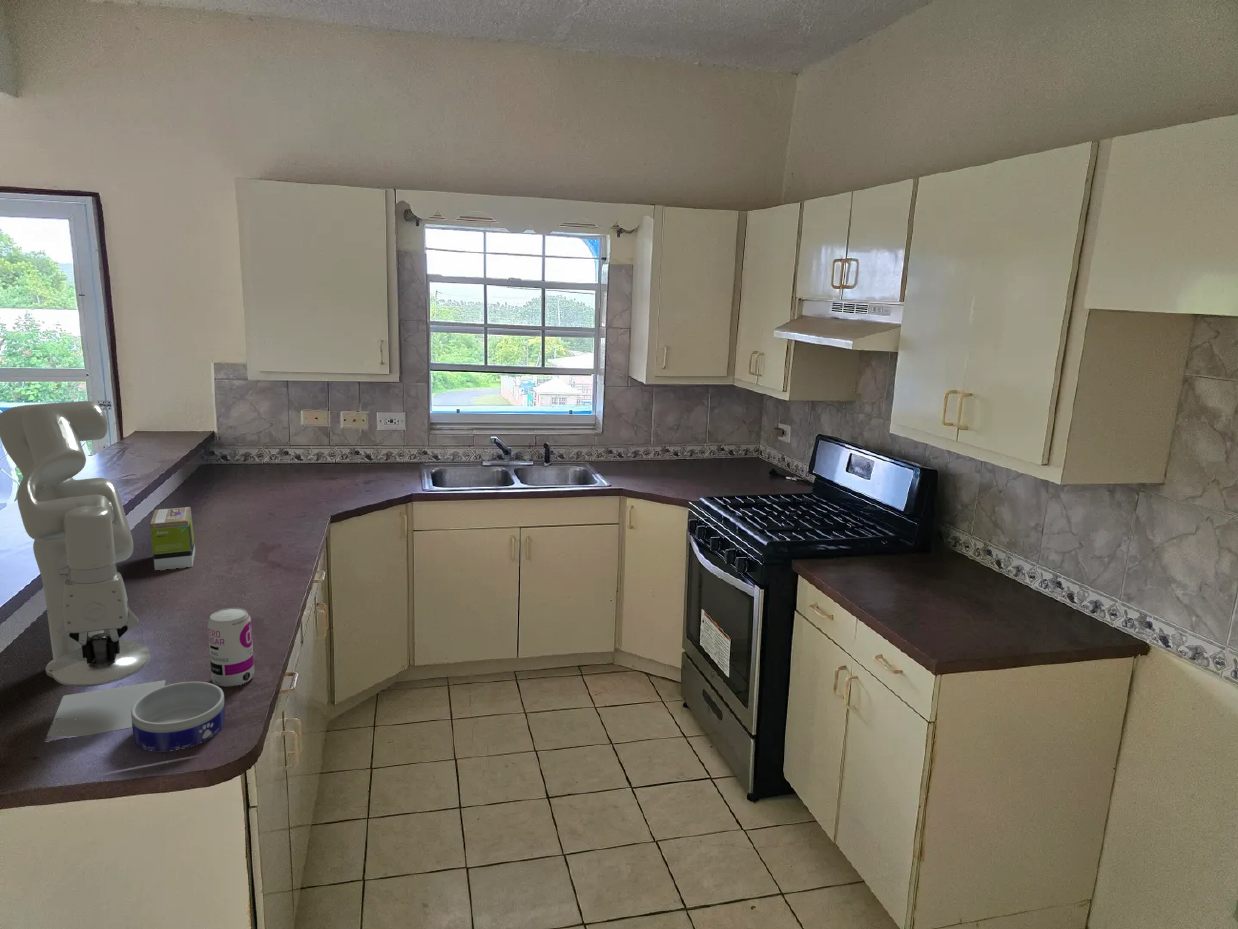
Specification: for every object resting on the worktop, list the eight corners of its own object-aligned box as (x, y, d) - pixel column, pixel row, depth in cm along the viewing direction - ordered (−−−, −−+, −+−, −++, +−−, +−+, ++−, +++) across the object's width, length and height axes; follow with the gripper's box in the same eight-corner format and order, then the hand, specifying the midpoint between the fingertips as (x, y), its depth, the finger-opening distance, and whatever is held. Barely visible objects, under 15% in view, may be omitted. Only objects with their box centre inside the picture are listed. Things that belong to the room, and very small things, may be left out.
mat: (63, 697, 160) (63, 695, 160) (165, 681, 168) (165, 680, 167) (44, 744, 144) (44, 742, 144) (158, 724, 152) (157, 722, 152)
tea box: (158, 555, 241) (154, 508, 238) (196, 551, 245) (192, 505, 242) (153, 571, 228) (149, 522, 225) (193, 567, 232) (189, 519, 229)
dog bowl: (186, 760, 141) (184, 730, 140) (112, 745, 144) (110, 715, 143) (242, 716, 156) (241, 688, 154) (174, 703, 158) (172, 675, 157)
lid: (60, 651, 158) (57, 624, 157) (153, 640, 165) (151, 614, 163) (44, 692, 144) (41, 663, 143) (146, 678, 151) (144, 650, 150)
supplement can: (260, 670, 174) (256, 607, 170) (244, 689, 166) (239, 623, 162) (223, 670, 173) (218, 606, 170) (205, 689, 165) (199, 622, 162)
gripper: (35, 584, 143) (47, 675, 148) (141, 574, 150) (149, 661, 155) (44, 568, 149) (55, 655, 154) (145, 559, 156) (152, 644, 161)
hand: (102, 657), depth 154 cm, fingers closed on lid, 3 cm apart
